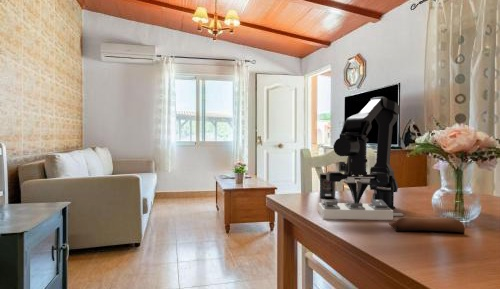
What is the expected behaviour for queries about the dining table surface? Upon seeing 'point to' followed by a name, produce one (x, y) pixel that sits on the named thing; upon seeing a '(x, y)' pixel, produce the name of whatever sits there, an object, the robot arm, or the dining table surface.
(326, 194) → the supplement container
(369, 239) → the dining table surface
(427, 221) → the sunglasses case
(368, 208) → the power strip
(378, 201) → the rocker
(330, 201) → the rocker
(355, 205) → the rocker middle
